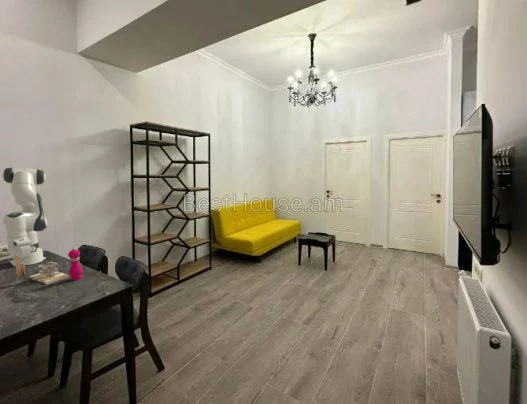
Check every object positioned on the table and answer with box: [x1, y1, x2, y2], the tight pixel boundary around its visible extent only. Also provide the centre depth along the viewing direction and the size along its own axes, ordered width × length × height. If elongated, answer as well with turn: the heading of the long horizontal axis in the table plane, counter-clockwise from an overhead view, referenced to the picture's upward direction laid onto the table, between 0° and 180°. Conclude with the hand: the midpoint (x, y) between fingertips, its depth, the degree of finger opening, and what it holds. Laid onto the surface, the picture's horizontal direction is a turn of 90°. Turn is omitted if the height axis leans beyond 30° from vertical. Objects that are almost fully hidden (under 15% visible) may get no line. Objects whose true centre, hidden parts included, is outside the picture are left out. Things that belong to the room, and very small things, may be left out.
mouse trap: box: [29, 261, 70, 285], centre depth 167 cm, size 20×12×9 cm, turn 63°
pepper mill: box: [67, 247, 84, 281], centre depth 165 cm, size 7×7×20 cm
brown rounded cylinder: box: [15, 255, 26, 278], centre depth 159 cm, size 4×4×16 cm
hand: (20, 262), depth 159 cm, fingers closed on brown rounded cylinder, 4 cm apart
